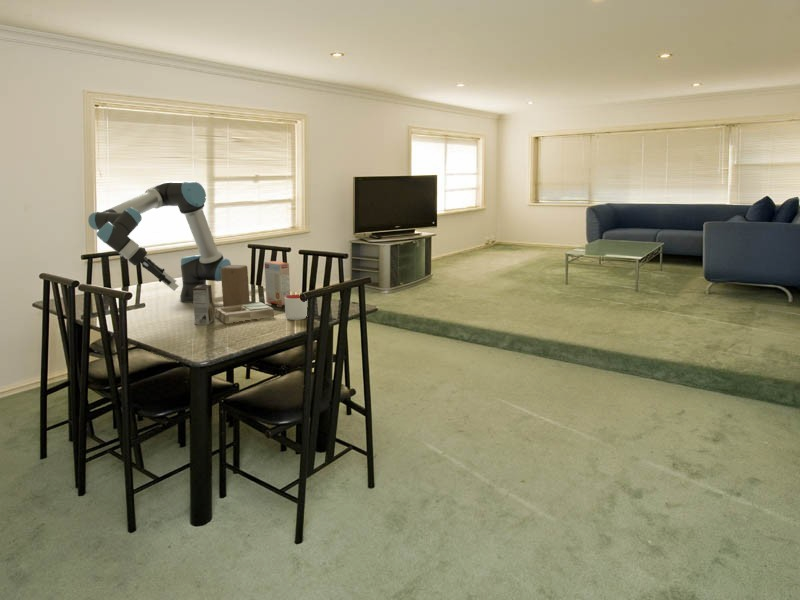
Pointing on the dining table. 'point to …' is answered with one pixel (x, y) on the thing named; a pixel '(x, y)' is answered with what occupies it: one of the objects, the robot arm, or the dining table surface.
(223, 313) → the hole board
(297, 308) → the cup
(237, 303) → the wooden block
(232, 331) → the dining table surface
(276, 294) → the cracker box
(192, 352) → the dining table surface
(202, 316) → the coffee box
